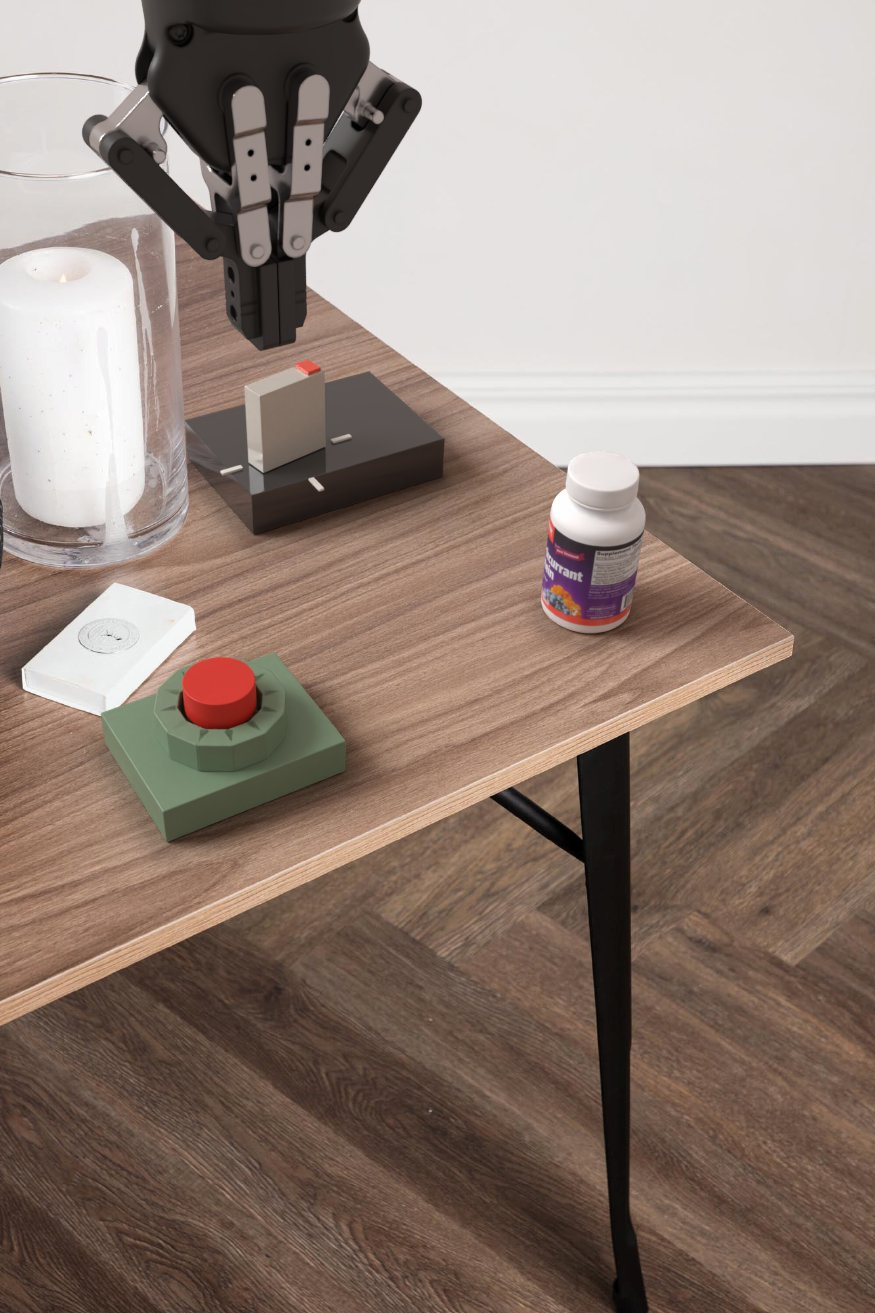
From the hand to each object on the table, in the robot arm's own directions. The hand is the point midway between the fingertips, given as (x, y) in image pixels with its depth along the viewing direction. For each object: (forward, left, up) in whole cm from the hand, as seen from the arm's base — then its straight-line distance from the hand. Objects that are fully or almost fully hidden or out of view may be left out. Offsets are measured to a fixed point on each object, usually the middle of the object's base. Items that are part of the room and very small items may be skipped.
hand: (267, 338), depth 56 cm
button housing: (-2, +3, -25) cm, 25 cm away
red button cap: (-2, +3, -21) cm, 22 cm away
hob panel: (+15, +25, -25) cm, 38 cm away
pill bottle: (+22, +4, -25) cm, 34 cm away
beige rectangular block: (+12, +23, -22) cm, 34 cm away
